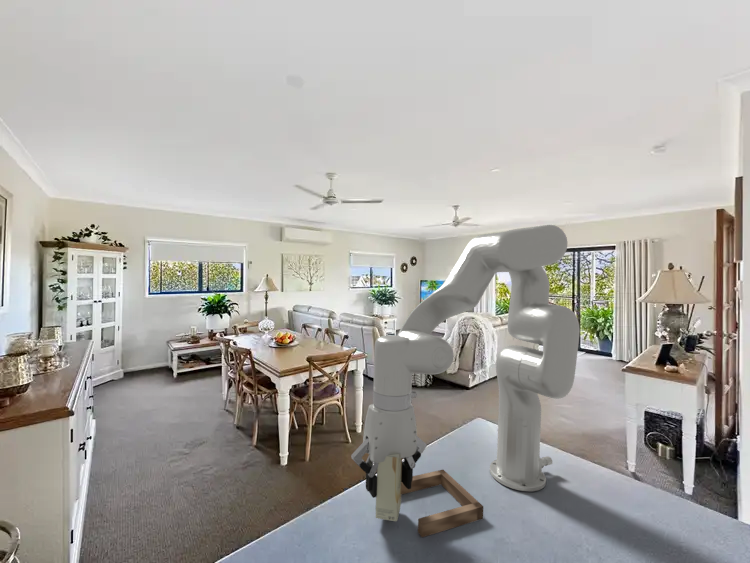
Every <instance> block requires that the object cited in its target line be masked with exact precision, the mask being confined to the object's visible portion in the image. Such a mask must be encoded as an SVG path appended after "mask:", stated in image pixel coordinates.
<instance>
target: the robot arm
mask: <svg viewBox="0 0 750 563" xmlns="http://www.w3.org/2000/svg"><path fill="white" fill-rule="evenodd" d="M567 249H568V238H567V235H566V233H565V231H564V230H563V229H562V228H560V227H559V226H556V225H554V224H543V225H537V226H536V225H535V226H529V227H522V228H513V229H508V230H506V231H499V232H491V233H485V234H480V235H477V236H474V237H472V238H471V239H470V241H468V243H467V244H466V245H465V247H464V249H463V251H462V252H461V254H460V255H459V257H458V259H457V260H456V262H455V264H454V265H453V267H452V268H451V270H450V272H449V273H448V274H447V277H446V278H445V280H444V282H443V283H442V284H441V286H440V287H438V289H436V290H434V291H433V292H431V294H429V295H428V297H426V298H425V299H424V300H422V301H421V302H420V303H419V304H418V305H417V306H416V307H415V308H413V310H412V311H411V312H410V314H409V315H408V317H407V318H406V319H405V321H404V323H403V324H402V326H401V328H400V329H399V331H398V333H397V335H393V334H391V335H389V334H388V335H382V336H380V337H379V336H378V338H376V339H375V342H374V353H373V356H374V358H373V359H374V362H373V386H372V387H373V390H372V403H371V404H369V405H368V408H367V411H366V416H365V421H364V428H363V439H362V443H361V444H360V445H359V446H358V447H357V448H356V449H355V450H354V451H353V453H351V454H350V456H351V457H350V458H351V460H353V461H354V463H355V464H356V465H357V466H359V468H360V469H361V471H363V472H364V473H365V488H366V491H367V492H368V493H369V494H370V496H371V497H372V498H375V499H376V496H377V468H378V464H379V463H380V462H384V461H385V458H386V456H388V455H393V454H401V458H402V460H403V461H402V483H403V484H404V485H405V487H406V488H407V489H411V481H412V480H413V476H414V469H415V468H416V466H417V465H416V464H417V462H418V461H419V460H420V458H421V457H422V454H423V452H424V451H425V450H426V448H427V447H428V445H427V443H426V442H425V441H424V440H422V439H421V438H420V437H419V436H418V432H417V431H418V429H417V419H416V413H415V408H414V405H413V403H412V402H413V400H414V399H415V398H417V397H418V396H417V394H418V393H417V391H416V390H412V388H413V387H412V386H413V383H412V381H413V375H414V374H420V375H421V374H422V375H438V374H442V373H444V372H446V371H447V370H448V369H450V368H451V366H452V364H453V362H454V358H455V356H454V350H453V347H452V346H451V345H450V343H449V342H448V341H446V340H445V339H444V338H442V337H439V336H437V335H432V333H433V331H434V330H435V329H436V328H437V327H439V325H440V324H441V323H443V322H445V321H446V320H448V319H450V318H451V317H454V316H457V315H461V314H463V313H466V312H468V311H470V310H473V309H475V307H477V306H478V305H479V303H480V301H481V299H482V297H483V296H484V294H485V292H486V291H487V288H488V287H489V284H490V283H491V282H492V280H493V278H494V276H495V274H497V273H508V274H509V276H510V280H511V288H510V289H511V290H510V297H509V299H510V300H509V305H508V306H509V307H508V315H507V331H508V333H509V335H510V336H511V337H512V338H514V339H516V340H518V341H519V340H520V341H523V342H527V343H531V344H535V345H540V346H542V350H539V349H537V348H531V347H528V346H523V345H507V346H504V347H503V348H502V349H501V350H500V351H498V353H497V355H496V359H495V371H496V377H497V378H496V379H497V385H498V416H497V418H498V419H497V439H496V440H497V443H496V459H495V460H493V461H492V462H491V463H490V465H489V472H490V475H491V477H492V478H493V479H494V480H496V481H497V482H498V483H499V484H501V485H503V486H505V487H506V488H510V489H512V490H516V491H520V492H538V491H540V490H542V489H543V488H545V487H546V482H547V477H546V475H545V473H543V471H542V470H543V469H544V467H547V466H551V465H552V464H553V459H552V457H551V456H549V455H547V456H542V457H540V453H541V429H542V428H541V425H542V422H541V421H542V405H541V400H540V397H539V395H541V396H544V397H547V398H549V399H555V400H559V399H563V398H565V397H566V396H568V394H569V393H570V391H571V390H572V388H573V385H574V381H575V377H576V369H577V360H578V359H577V358H578V351H579V342H580V331H581V330H580V323H579V320H578V317H577V315H576V314H575V312H574V311H573V310H572V309H570V308H569V307H567V306H563V305H560V304H550V303H549V299H550V297H549V296H550V280H549V277H548V275H547V273H546V271H545V269H544V268H543V267H546V266H549V265H553V264H555V263H557V262H559V261H560V260H561V259H562V258H563V257H564V256H565V254H566V252H567ZM366 454H368V456H367V459H366V461H365V460H364V459H363V457H364V455H366Z"/></svg>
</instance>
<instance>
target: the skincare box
mask: <svg viewBox="0 0 750 563" xmlns="http://www.w3.org/2000/svg"><path fill="white" fill-rule="evenodd" d="M402 462H403V458H401V454H393V455H388V456H386V458H385V461H384V462H380V463H379V464H378V468H377V470H376V476H377V496H376V497H375V518H376V519H379V520H384V521H393V522H398V519H399V515H400V511H401V504H402V494H401V484H402Z"/></svg>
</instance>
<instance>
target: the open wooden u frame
mask: <svg viewBox="0 0 750 563" xmlns="http://www.w3.org/2000/svg"><path fill="white" fill-rule="evenodd" d="M438 486H442V487H443V489H445V491H446V492H448V493H449V494H450V495H451V497H453V498H454V500H456V502H458V503H459V504H460V505H461V506H459V507H455V508H451V509H448V510H444V511H441V512H437V513H434V514H430V515H426V516H423V517H419V518H418V520H417V521H418V522H417V533H418V534H419V536H420V537H421V538H424V537H425V538H426V537H428V536H432V535H435V534H439V533H442V532H444V531H448V530H451V529H455V528H458V527H461V526H464V525H467V524H471V523H474V522H477V521H480V520H484V505H483V504H482V503H481V502H479V501H478V500H477V499H476V498H475V497H474V496H473V495H472V494H471V493H469V491H468V490H466V489H465V488H464V487H463V486H462V485H461V484H459V482H458V481H457V480H455V479H454V478H453V477H452V476H451V475H450V474H449V473H448V472H447V471H446V470H444V469H439V470H434V471H430V472H425V473H421V474H417V475H413V480H412V481H411V489H407V488H406V487H405V485H404V484H403V483H402V484H401V495H405V494H409V493H412V492H417V491H422V490H425V489H430V488H434V487H438Z"/></svg>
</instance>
